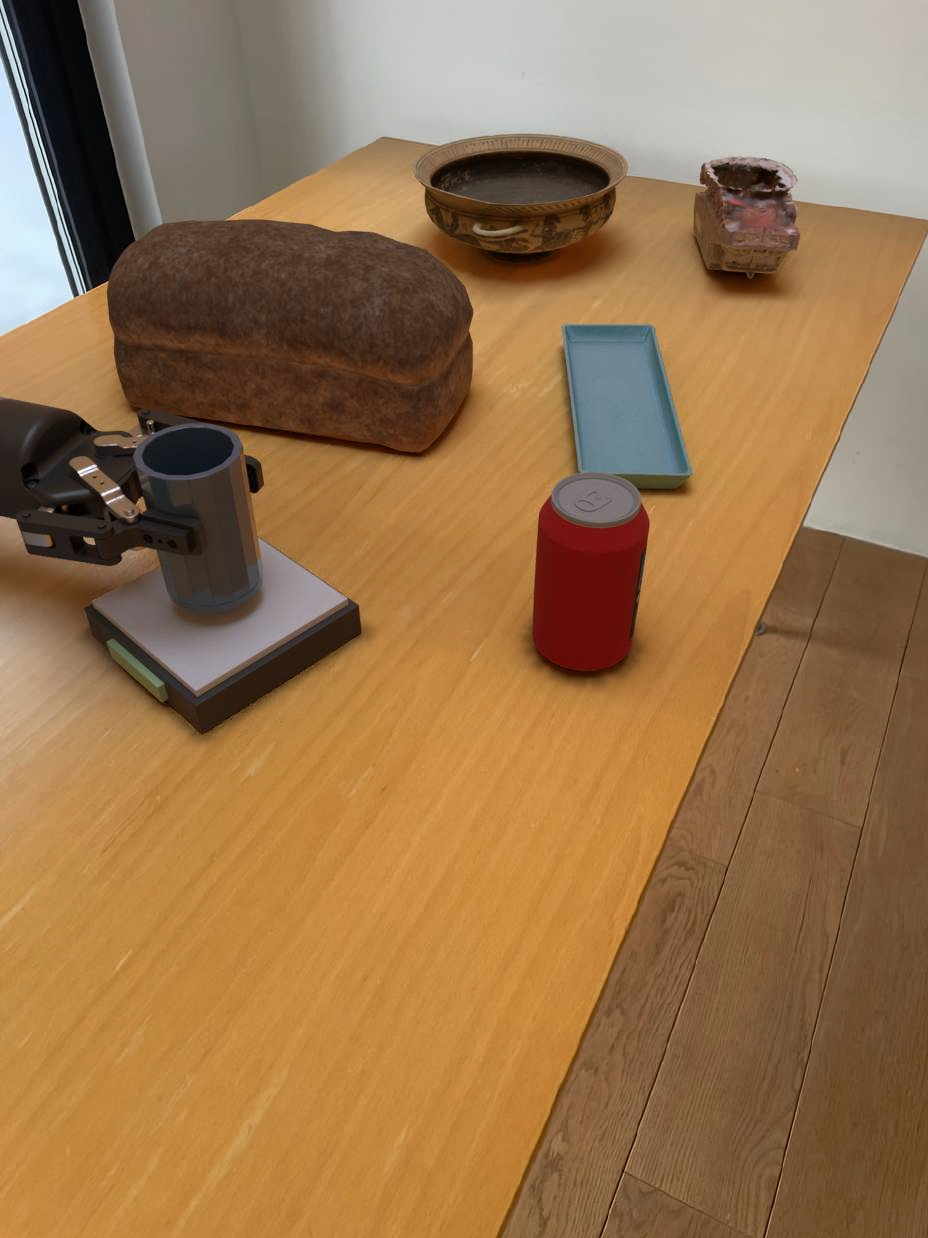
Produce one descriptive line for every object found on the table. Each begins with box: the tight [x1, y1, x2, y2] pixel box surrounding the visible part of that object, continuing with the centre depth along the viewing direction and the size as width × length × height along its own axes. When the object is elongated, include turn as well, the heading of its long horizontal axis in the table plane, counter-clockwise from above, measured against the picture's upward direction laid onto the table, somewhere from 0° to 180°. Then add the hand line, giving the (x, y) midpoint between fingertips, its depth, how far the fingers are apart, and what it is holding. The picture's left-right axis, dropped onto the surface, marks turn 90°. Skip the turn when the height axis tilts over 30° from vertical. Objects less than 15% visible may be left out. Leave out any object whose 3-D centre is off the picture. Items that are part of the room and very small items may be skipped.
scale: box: [83, 535, 362, 735], centre depth 68 cm, size 14×13×3 cm
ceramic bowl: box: [412, 133, 629, 265], centre depth 116 cm, size 30×24×10 cm
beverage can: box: [531, 472, 650, 672], centre depth 64 cm, size 7×7×12 cm
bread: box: [106, 218, 474, 453], centre depth 88 cm, size 15×32×16 cm, turn 73°
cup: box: [133, 422, 263, 613], centre depth 62 cm, size 6×6×10 cm
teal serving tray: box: [561, 323, 694, 490], centre depth 90 cm, size 26×9×2 cm, turn 179°
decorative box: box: [692, 156, 801, 279], centre depth 113 cm, size 13×20×10 cm, turn 171°
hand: (232, 506), depth 61 cm, fingers closed on cup, 6 cm apart
